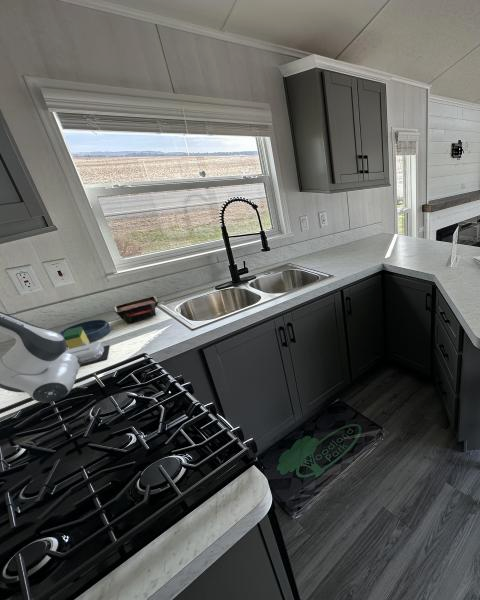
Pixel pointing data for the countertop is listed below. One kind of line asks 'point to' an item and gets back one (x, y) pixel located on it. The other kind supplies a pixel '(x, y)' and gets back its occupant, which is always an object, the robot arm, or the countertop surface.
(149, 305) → the baking dish
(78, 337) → the sponge
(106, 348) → the drying mat
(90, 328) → the bowl
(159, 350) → the countertop surface
